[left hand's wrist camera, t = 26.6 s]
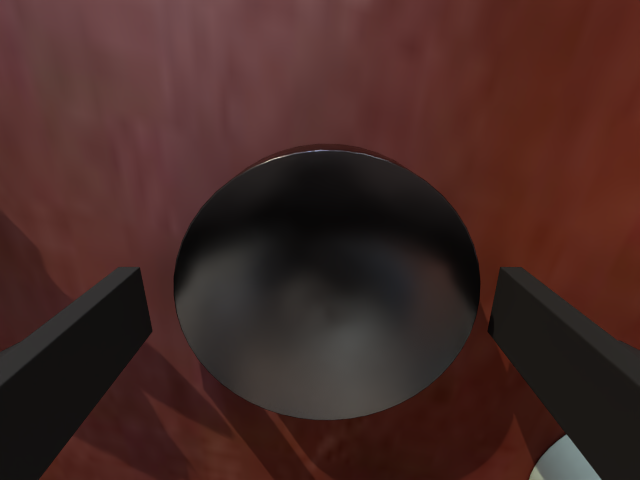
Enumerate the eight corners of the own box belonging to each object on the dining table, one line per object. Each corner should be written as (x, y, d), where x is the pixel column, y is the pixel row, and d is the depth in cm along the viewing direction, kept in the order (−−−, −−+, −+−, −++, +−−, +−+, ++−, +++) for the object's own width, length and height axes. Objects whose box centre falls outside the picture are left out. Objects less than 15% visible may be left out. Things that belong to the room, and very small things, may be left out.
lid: (512, 270, 13) (544, 297, 11) (332, 418, 16) (334, 459, 14) (315, 74, 11) (314, 67, 9) (143, 286, 14) (114, 315, 12)
